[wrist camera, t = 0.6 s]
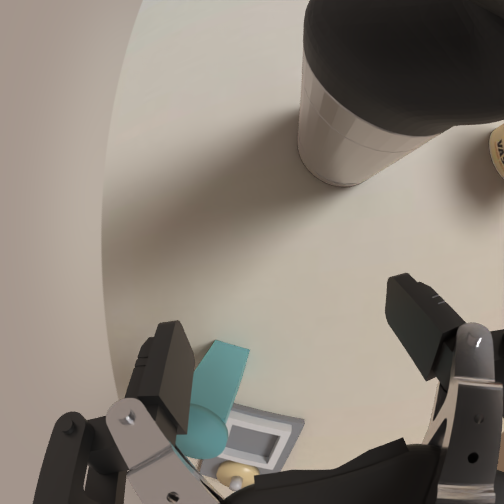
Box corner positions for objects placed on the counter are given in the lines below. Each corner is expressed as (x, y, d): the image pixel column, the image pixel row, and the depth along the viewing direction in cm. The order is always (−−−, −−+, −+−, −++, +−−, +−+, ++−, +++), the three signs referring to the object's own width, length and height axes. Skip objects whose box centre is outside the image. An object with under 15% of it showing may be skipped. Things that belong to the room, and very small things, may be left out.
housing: (219, 398, 32) (209, 419, 27) (304, 419, 30) (305, 441, 26) (201, 469, 33) (193, 488, 29) (269, 486, 32) (266, 506, 28)
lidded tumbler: (211, 333, 31) (161, 400, 17) (256, 346, 30) (232, 424, 17) (203, 371, 32) (156, 444, 18) (245, 383, 31) (219, 466, 17)
